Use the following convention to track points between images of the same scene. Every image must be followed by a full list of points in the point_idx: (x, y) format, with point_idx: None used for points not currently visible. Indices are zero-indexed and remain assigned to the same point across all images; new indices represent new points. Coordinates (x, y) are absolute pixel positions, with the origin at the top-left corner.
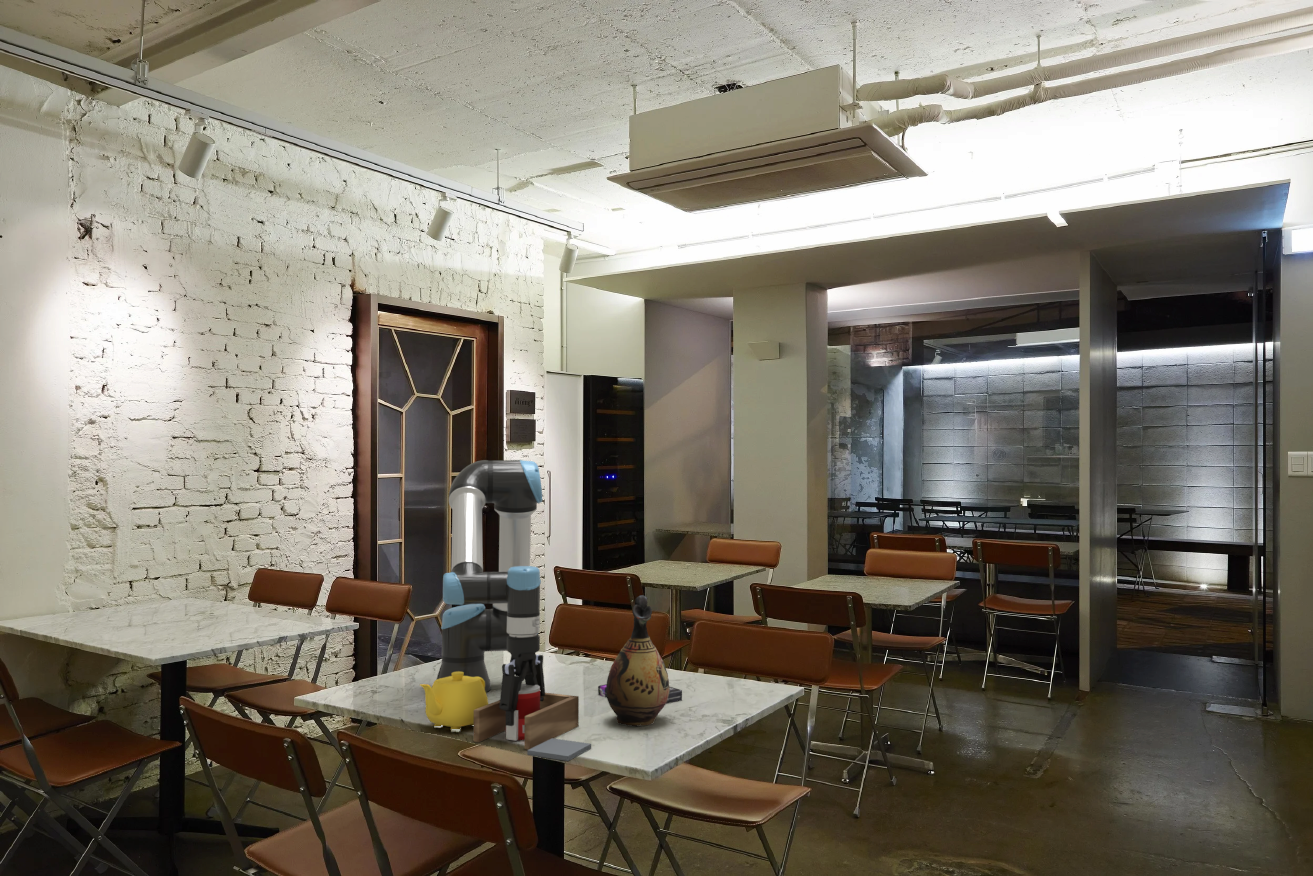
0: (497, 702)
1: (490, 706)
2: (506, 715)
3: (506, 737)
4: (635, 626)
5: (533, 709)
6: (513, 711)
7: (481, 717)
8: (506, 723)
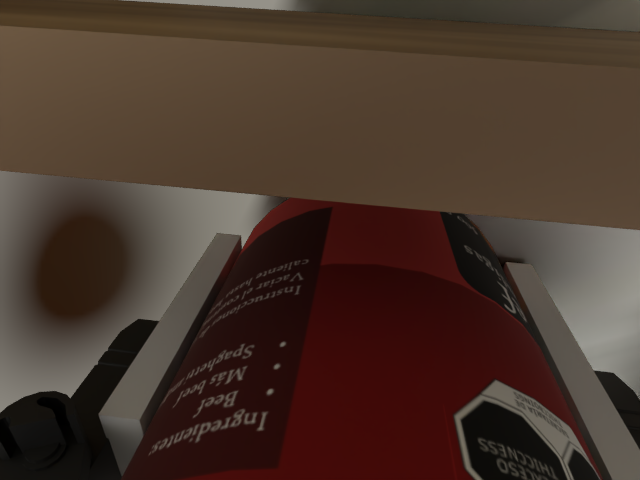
0: (365, 149)
1: (44, 170)
2: (77, 397)
3: (212, 243)
4: None
5: None
6: (114, 476)
7: None
8: (121, 338)
